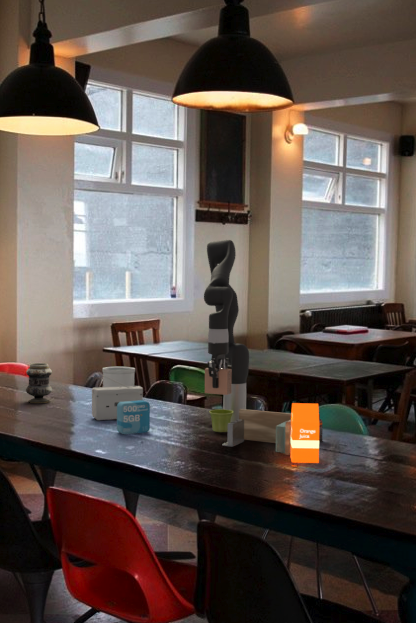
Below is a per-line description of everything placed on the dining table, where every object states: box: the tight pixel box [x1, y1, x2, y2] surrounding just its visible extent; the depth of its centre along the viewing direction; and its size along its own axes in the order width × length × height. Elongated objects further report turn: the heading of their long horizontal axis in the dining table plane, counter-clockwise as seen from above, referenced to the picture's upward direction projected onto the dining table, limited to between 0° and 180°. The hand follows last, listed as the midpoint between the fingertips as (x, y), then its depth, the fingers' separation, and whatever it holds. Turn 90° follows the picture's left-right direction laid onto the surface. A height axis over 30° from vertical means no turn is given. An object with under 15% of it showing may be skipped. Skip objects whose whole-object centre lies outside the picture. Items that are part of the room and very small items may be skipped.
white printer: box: [91, 372, 144, 421], centre depth 354 cm, size 21×8×20 cm, turn 108°
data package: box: [116, 400, 151, 435], centre depth 326 cm, size 12×4×12 cm, turn 118°
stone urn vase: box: [25, 362, 53, 404], centre depth 395 cm, size 12×12×18 cm
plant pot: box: [209, 408, 233, 433], centre depth 325 cm, size 9×9×9 cm
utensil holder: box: [102, 366, 136, 387], centre depth 385 cm, size 15×15×18 cm
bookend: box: [222, 419, 245, 448], centre depth 301 cm, size 10×4×8 cm, turn 154°
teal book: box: [275, 421, 287, 454], centre depth 292 cm, size 10×4×9 cm, turn 154°
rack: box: [239, 408, 292, 456], centre depth 297 cm, size 16×25×12 cm, turn 64°
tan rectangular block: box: [204, 367, 231, 396], centre depth 311 cm, size 4×9×9 cm, turn 64°
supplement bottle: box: [319, 413, 323, 444], centre depth 307 cm, size 6×6×11 cm
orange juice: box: [289, 402, 320, 467], centre depth 277 cm, size 8×9×20 cm
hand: (218, 386), depth 311 cm, fingers closed on tan rectangular block, 4 cm apart
